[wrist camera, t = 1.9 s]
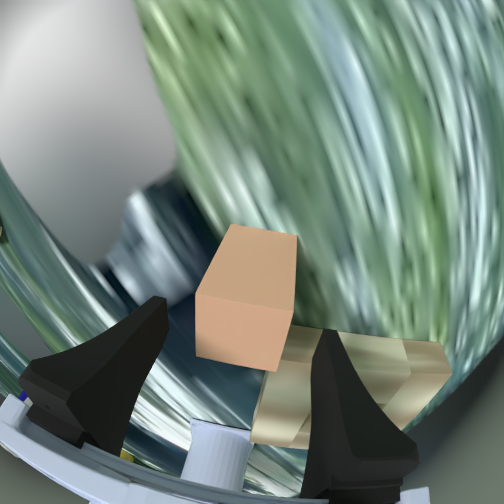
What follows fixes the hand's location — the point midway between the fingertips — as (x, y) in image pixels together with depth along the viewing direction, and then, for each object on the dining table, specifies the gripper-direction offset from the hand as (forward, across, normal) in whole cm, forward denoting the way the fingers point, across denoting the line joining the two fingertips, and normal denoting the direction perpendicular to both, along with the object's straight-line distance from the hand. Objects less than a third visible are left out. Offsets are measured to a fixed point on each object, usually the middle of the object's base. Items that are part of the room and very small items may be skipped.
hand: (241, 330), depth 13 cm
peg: (+7, 0, 0) cm, 7 cm away
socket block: (+6, -9, +12) cm, 16 cm away
